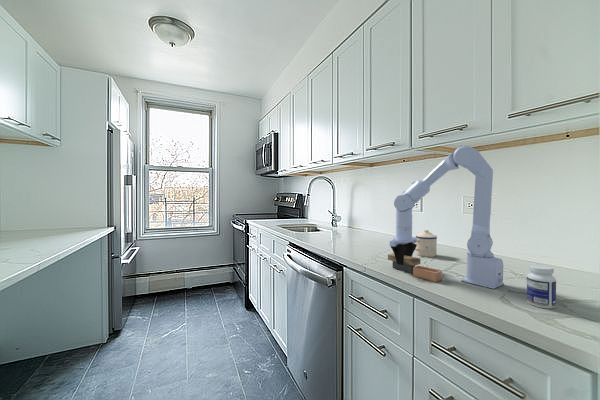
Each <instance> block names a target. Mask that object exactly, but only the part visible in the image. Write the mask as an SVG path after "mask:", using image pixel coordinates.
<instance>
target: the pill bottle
mask: <svg viewBox="0 0 600 400" xmlns="http://www.w3.org/2000/svg"><path fill="white" fill-rule="evenodd" d="M529 271H530V273H527V275H526V301H527V303H528V304H529V305H532V306H533V307H536V308H541V309H550V310H551V309H555V308H556V306H557V279H556V277H555V276H554V275H553V274H554V272H555V269H554V267H552V266H550V265H545V264H529Z"/></svg>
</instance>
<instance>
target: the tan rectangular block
mask: <svg viewBox="0 0 600 400" xmlns="http://www.w3.org/2000/svg"><path fill="white" fill-rule="evenodd" d="M412 277H414V278H416V279H420V280H421V279H422V280H424V281H428V282H432V283H436V284H437V283H438V282H442V281H443V271H442V270H440V269H436V268H432V267H431V268H430V267H428V266H427V267H426V266H423V265H415V267H413V272H412Z"/></svg>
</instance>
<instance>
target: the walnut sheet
mask: <svg viewBox="0 0 600 400" xmlns="http://www.w3.org/2000/svg"><path fill="white" fill-rule="evenodd" d="M387 261H392V262H393V261H396V258H395V255H394V252H393V253H389V254H387ZM403 263H404V264H408V265H413V266H415V267H416V266H420V265H421V258H419V257H415V256H412V257H411V256H406V255H404V261H403Z"/></svg>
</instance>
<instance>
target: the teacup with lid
mask: <svg viewBox="0 0 600 400" xmlns="http://www.w3.org/2000/svg"><path fill="white" fill-rule="evenodd" d="M415 235H416V236H415V237H417V242H416V243H414V242H413V244H417V247H416V248H415V250H414V251H415V254H416V255H417V256H419V257H426V258H433V257H437V242H438V241H437V239H438V236H437V234H436V235H435V234H434V233H432V232H430V230H429V229H424V230H423V231H421V233H417V234H415Z"/></svg>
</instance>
